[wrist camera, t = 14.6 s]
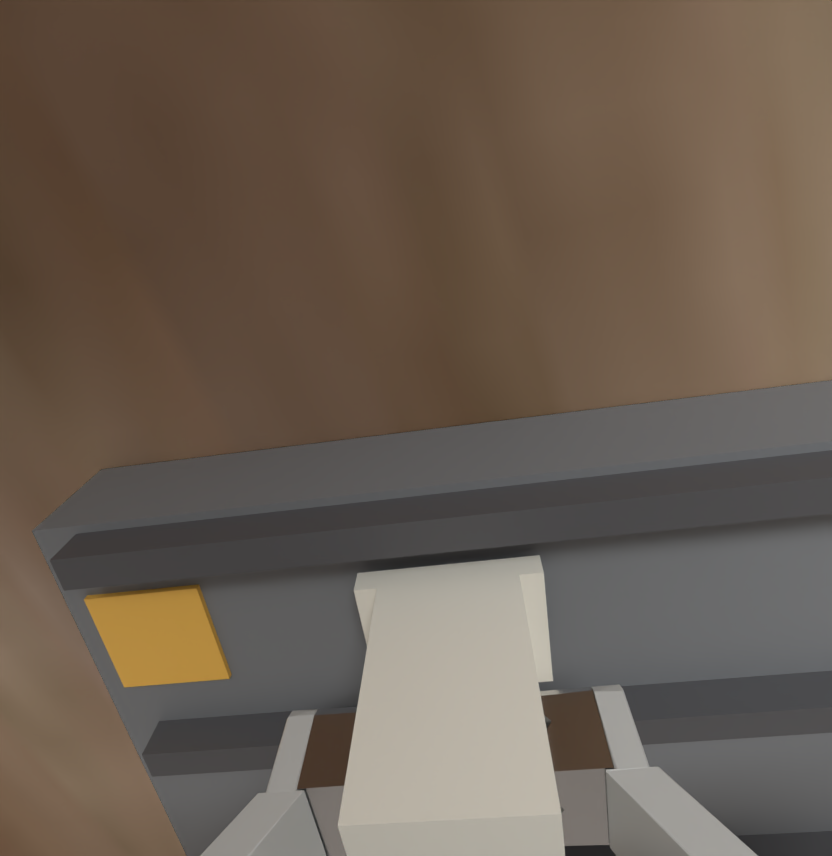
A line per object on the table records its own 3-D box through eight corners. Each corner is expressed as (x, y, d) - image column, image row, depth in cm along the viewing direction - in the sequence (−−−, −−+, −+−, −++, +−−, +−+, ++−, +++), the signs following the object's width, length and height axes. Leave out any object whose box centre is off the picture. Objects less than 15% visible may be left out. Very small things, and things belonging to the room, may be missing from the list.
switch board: (101, 469, 16) (2, 557, 13) (1266, 327, 14) (1571, 387, 10) (231, 790, 21) (186, 919, 18) (1098, 737, 19) (1258, 877, 15)
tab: (357, 572, 13) (301, 828, 8) (540, 555, 13) (600, 811, 8) (381, 674, 15) (345, 952, 9) (548, 661, 14) (607, 944, 9)
